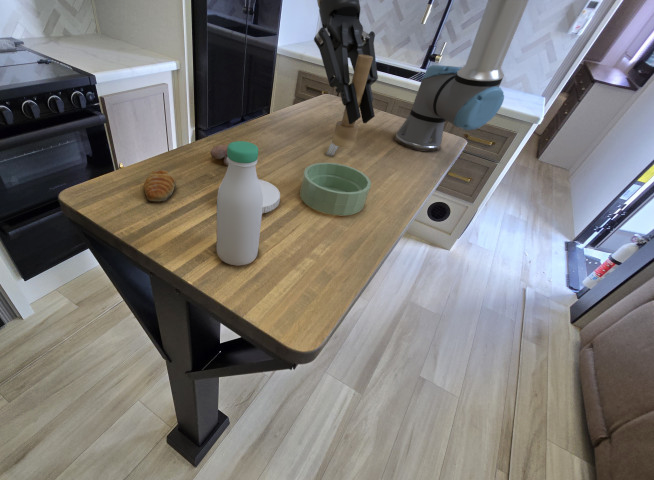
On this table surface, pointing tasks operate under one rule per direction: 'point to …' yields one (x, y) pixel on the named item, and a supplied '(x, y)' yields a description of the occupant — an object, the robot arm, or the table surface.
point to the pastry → (159, 185)
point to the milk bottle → (239, 206)
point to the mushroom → (220, 153)
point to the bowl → (334, 188)
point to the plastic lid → (269, 196)
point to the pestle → (343, 129)
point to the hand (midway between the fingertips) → (361, 120)
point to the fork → (332, 148)
